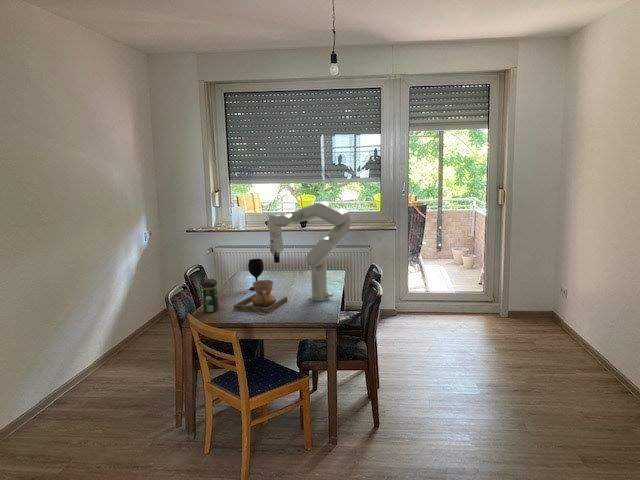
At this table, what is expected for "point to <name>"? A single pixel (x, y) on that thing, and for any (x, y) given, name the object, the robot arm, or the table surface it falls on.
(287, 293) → the table surface
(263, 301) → the ceramic jug
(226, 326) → the table surface
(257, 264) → the wine glass
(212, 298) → the coffee jar
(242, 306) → the walnut bay
